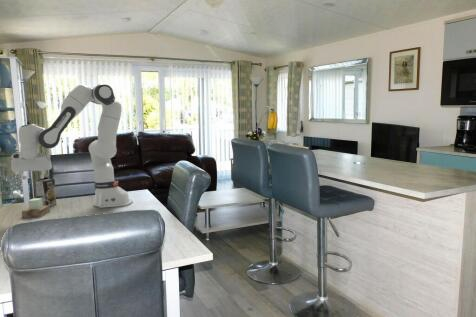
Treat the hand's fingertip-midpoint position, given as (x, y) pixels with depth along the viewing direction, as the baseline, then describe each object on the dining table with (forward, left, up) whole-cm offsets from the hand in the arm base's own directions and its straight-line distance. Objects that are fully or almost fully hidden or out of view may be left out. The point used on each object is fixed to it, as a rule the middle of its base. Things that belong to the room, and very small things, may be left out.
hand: (33, 178), depth 200 cm
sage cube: (0, 0, -16) cm, 16 cm away
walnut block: (0, 0, -20) cm, 20 cm away
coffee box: (+3, -20, -20) cm, 29 cm away
